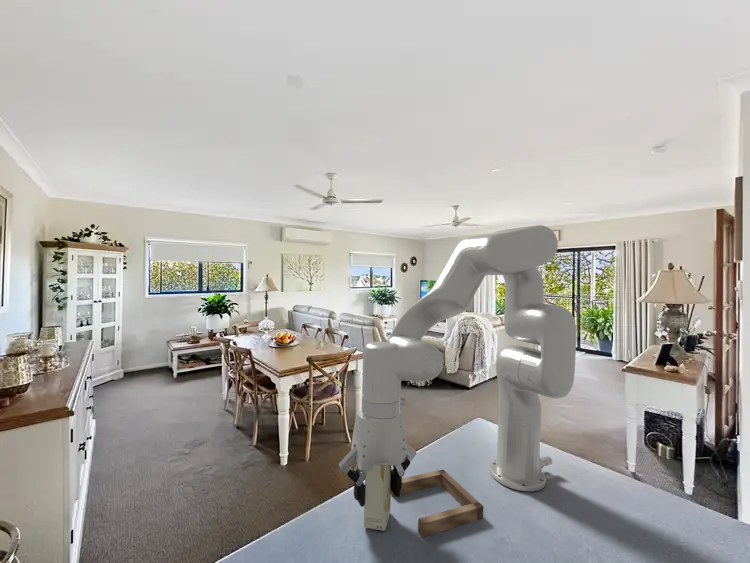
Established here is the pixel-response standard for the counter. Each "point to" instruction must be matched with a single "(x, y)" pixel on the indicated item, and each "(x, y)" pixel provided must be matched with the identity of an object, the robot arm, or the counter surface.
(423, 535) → the open wooden u frame
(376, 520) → the skincare box
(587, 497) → the counter surface
